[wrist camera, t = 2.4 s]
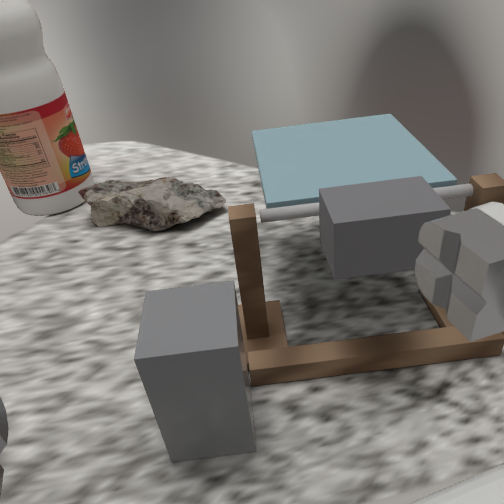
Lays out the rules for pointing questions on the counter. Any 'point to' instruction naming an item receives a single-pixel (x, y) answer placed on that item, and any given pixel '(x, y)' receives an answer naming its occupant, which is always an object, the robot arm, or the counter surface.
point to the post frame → (351, 350)
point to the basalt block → (196, 370)
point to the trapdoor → (356, 189)
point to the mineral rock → (149, 202)
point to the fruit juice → (36, 120)
